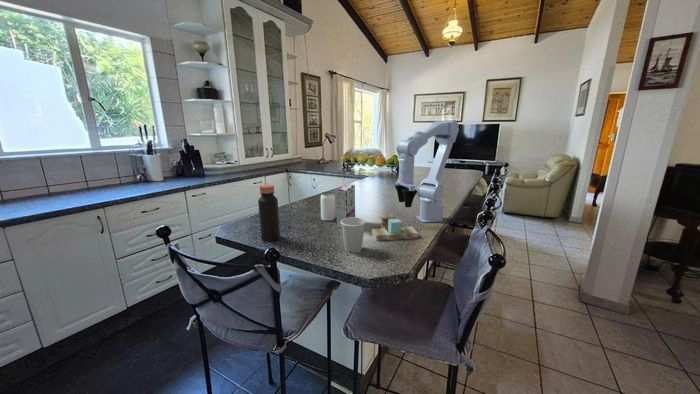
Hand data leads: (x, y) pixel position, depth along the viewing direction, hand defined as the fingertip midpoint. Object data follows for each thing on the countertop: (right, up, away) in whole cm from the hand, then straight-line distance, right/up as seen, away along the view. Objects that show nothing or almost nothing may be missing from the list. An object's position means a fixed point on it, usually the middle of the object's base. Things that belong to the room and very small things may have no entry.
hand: (404, 204), depth 111 cm
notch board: (-5, -12, -6) cm, 14 cm away
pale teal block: (-5, -12, -6) cm, 14 cm away
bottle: (-52, -13, -8) cm, 54 cm away
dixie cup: (-21, -15, -17) cm, 31 cm away
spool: (-7, -10, +3) cm, 12 cm away
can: (-32, -7, +13) cm, 35 cm away
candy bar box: (-24, -9, +7) cm, 26 cm away
